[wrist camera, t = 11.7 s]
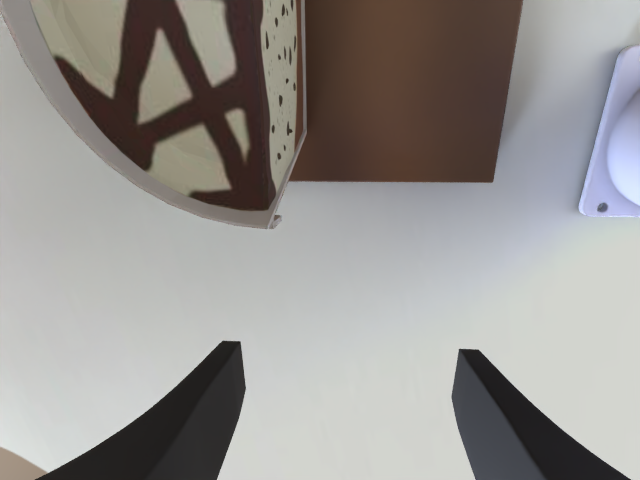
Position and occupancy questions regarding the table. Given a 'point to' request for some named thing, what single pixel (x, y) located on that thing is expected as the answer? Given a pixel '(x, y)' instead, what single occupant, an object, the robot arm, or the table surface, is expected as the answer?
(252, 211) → the food container
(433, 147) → the walnut board
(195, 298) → the table surface
